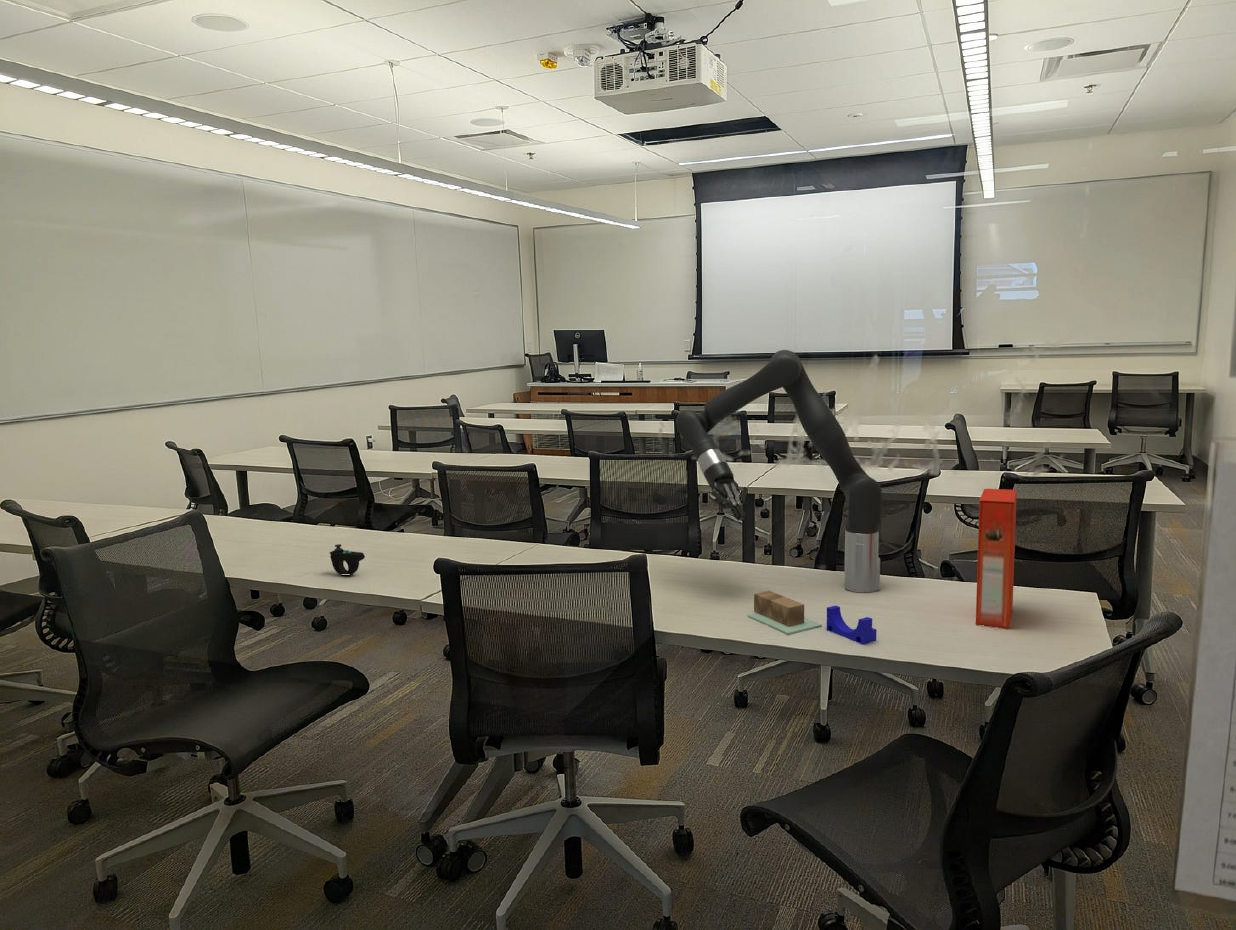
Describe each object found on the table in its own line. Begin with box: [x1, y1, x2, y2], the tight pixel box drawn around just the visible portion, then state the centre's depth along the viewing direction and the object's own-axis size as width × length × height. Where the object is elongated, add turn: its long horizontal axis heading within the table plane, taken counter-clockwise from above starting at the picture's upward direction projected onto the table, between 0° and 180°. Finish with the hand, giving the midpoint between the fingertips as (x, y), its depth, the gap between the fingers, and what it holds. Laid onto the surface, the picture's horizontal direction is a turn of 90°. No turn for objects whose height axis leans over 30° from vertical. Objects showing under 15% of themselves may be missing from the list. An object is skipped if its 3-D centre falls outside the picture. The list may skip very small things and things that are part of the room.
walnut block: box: [753, 590, 805, 627], centre depth 209 cm, size 5×5×14 cm
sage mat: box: [747, 612, 823, 636], centre depth 208 cm, size 16×11×1 cm
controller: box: [329, 543, 366, 575], centre depth 261 cm, size 4×12×10 cm, turn 67°
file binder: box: [975, 488, 1018, 630], centre depth 205 cm, size 8×17×32 cm, turn 152°
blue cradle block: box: [826, 605, 877, 646], centre depth 197 cm, size 12×4×6 cm, turn 30°
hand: (741, 518), depth 221 cm, fingers closed
